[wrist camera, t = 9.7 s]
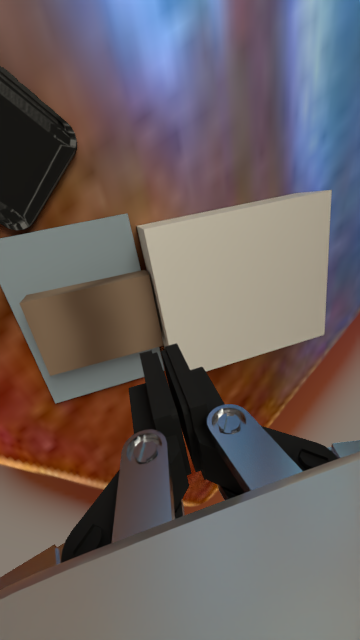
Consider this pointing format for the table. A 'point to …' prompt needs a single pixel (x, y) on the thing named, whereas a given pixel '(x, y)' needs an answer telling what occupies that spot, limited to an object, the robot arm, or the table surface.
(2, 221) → the phone
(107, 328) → the walnut tile
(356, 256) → the table surface
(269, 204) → the riser
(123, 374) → the mat
